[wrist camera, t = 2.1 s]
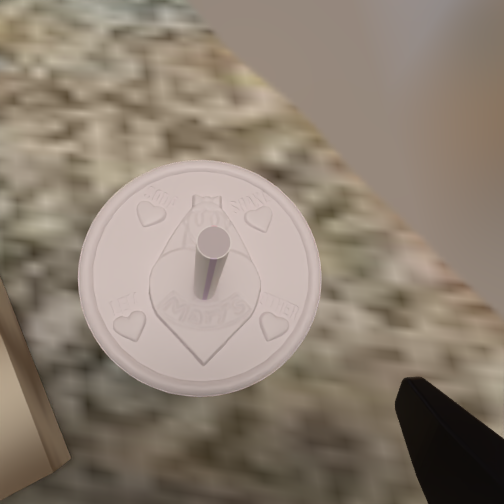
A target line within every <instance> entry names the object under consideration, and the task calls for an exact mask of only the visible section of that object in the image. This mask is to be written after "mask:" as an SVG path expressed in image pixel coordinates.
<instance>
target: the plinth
mask: <svg viewBox="0 0 504 504" xmlns="http://www.w3.org/2000/svg"><path fill="white" fill-rule="evenodd" d="M70 459H71V456H70V454H69V451H68V449H67V446H66V444H65V441H64V439H63V436H62V433H61V431H60V428H59V426H58V423H57V421H56V418H55V415H54V413H53V410H52V408H51V405H50V403H49V400H48V397H47V395H46V392H45V390H44V387H43V385H42V382H41V380H40V377H39V374H38V372H37V369H36V367H35V364H34V362H33V359H32V356H31V354H30V351H29V349H28V346H27V344H26V341H25V338H24V336H23V333H22V331H21V328H20V326H19V323H18V321H17V318H16V315H15V313H14V310H13V308H12V305H11V303H10V300H9V297H8V295H7V292H6V290H5V287H4V285H3V282H2V279H1V277H0V500H2V499H4V498H6V497H8V496H10V495H12V494H14V493H16V492H17V491H19V490H21V489H23V488H25V487H27V486H29V485H31V484H32V483H34V482H36V481H38V480H40V479H42V478H44V477H46V476H48V475H49V474H51V473H53V472H54V471H56V470H57V469H58V468H60V467H61V466H62V465H64V464H65V463H66V462H67V461H69V460H70Z"/></svg>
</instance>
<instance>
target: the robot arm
mask: <svg viewBox="0 0 504 504" xmlns="http://www.w3.org/2000/svg"><path fill="white" fill-rule="evenodd" d="M395 410H396V414H397V417H398V420H399V423H400V426H401V429H402V433H403V436H404V439H405V442H406V445H407V448H408V451H409V455H410V458H411V461H412V464H413V467H414V470H415V473H416V476H417V478H418V481H419V483H420V485H421V488H422V490H423V493H424V495H425V497H426V499H427V502H428V504H504V439H503V438H502V437H501V436H499V435H498V434H497V433H495V432H494V431H493V430H491V429H490V428H489V427H487V426H486V425H485V424H483V423H482V422H481V421H480V420H478V419H477V418H476V417H474V416H473V415H472V414H470V413H469V412H468V411H466V410H465V409H464V408H462V407H461V406H460V405H458V404H457V403H456V402H454V401H453V400H452V399H450V398H449V397H448V396H447V395H445V394H444V393H443V392H441V391H440V390H439V389H437V388H436V387H435V386H433V385H432V384H431V383H429V382H428V381H427V380H425V379H424V378H422V377H406V378H404V379H403V380H402V382H401V385H400V388H399V391H398V394H397V397H396V400H395Z"/></svg>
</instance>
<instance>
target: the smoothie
mask: <svg viewBox="0 0 504 504" xmlns="http://www.w3.org/2000/svg"><path fill="white" fill-rule="evenodd" d="M78 287H79V296H80V302H81V306H82V309H83V313H84V316H85V319H86V321H87V324H88V326H89V328H90V330H91V332H92V334H93V336H94V338H95V339H96V341H97V342H98V344H99V345H100V347H101V348H102V349H103V351H104V352H105V353H106V354H107V355H108V357H109V358H110V359H111V360H112V361H113V362H114V363H115V364H116V365H118V366H119V367H120V368H121V369H122V370H124V371H125V372H126V373H128V374H129V375H130V376H132V377H134V378H135V379H137V380H138V381H140V382H142V383H144V384H146V385H148V386H150V387H153V388H156V389H158V390H161V391H164V392H167V393H170V394H176V395H183V396H195V397H206V396H217V395H222V394H228V393H232V392H235V391H239V390H241V389H244V388H246V387H249V386H251V385H253V384H255V383H257V382H259V381H261V380H263V379H264V378H266V377H267V376H269V375H271V374H272V373H273V372H275V371H276V370H277V369H278V368H280V367H281V366H282V365H283V364H284V363H285V362H286V361H287V360H288V359H289V358H290V357H291V356H292V355H293V354H294V352H295V351H296V350H297V349H298V348H299V346H300V344H301V343H302V341H303V340H304V338H305V337H306V335H307V333H308V331H309V329H310V327H311V325H312V322H313V320H314V318H315V315H316V311H317V308H318V304H319V299H320V292H321V265H320V258H319V253H318V249H317V246H316V242H315V239H314V237H313V234H312V232H311V229H310V228H309V226H308V224H307V222H306V220H305V218H304V217H303V215H302V214H301V212H300V211H299V209H298V208H297V207H296V206H295V204H294V203H293V202H292V201H291V200H290V199H289V198H288V197H287V196H286V194H284V193H283V192H282V191H281V190H280V189H279V188H278V187H276V186H275V185H274V184H272V183H271V182H270V181H268V180H266V179H265V178H263V177H261V176H260V175H258V174H256V173H254V172H252V171H250V170H247V169H245V168H242V167H239V166H236V165H232V164H229V163H224V162H219V161H210V160H190V161H181V162H175V163H171V164H167V165H163V166H160V167H158V168H155V169H152V170H150V171H148V172H146V173H143V174H141V175H140V176H138V177H136V178H135V179H133V180H131V181H130V182H129V183H127V184H126V185H124V186H123V187H122V188H121V189H120V190H118V191H117V192H116V193H115V194H114V195H113V196H112V197H111V198H110V199H109V200H108V201H107V202H106V204H105V205H104V206H103V207H102V209H101V210H100V211H99V213H98V214H97V216H96V218H95V219H94V221H93V223H92V225H91V227H90V229H89V231H88V233H87V235H86V238H85V241H84V243H83V247H82V251H81V255H80V261H79V270H78Z"/></svg>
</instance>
